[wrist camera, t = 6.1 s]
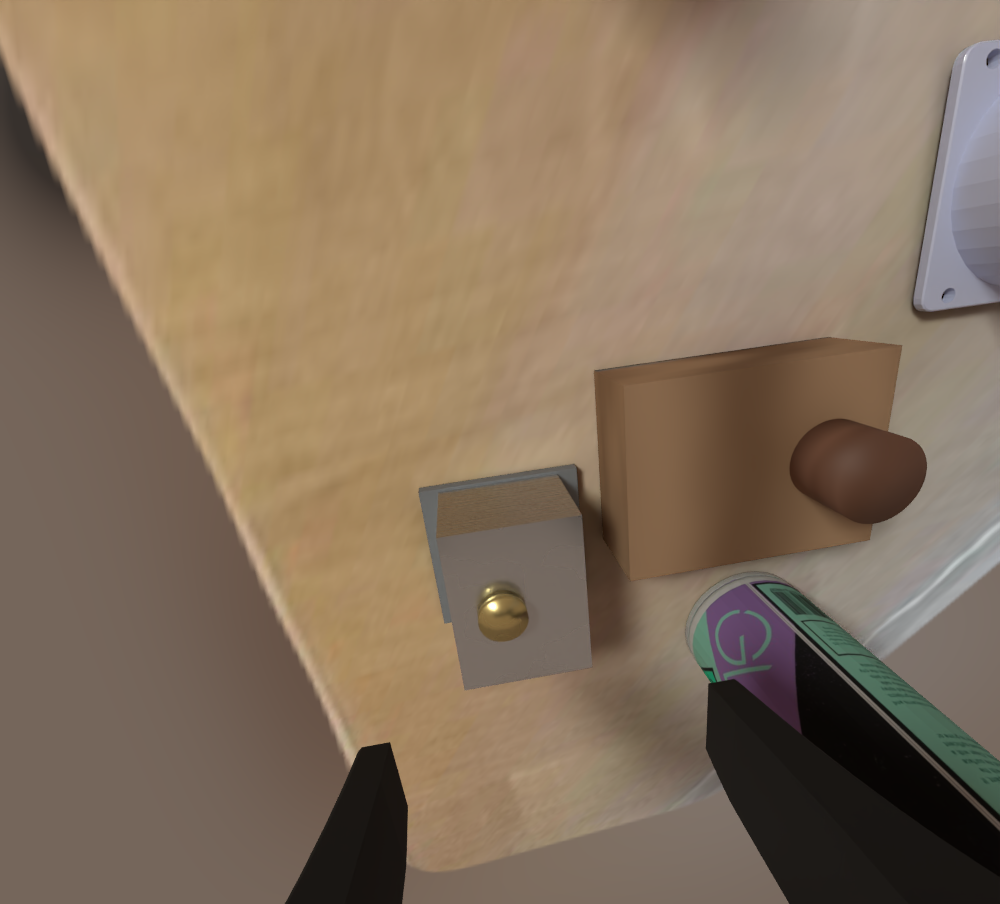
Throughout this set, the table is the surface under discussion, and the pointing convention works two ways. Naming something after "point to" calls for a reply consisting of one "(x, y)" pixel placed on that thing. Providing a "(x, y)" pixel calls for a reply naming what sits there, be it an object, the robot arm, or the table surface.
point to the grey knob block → (514, 579)
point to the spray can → (850, 707)
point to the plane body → (750, 454)
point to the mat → (431, 493)
